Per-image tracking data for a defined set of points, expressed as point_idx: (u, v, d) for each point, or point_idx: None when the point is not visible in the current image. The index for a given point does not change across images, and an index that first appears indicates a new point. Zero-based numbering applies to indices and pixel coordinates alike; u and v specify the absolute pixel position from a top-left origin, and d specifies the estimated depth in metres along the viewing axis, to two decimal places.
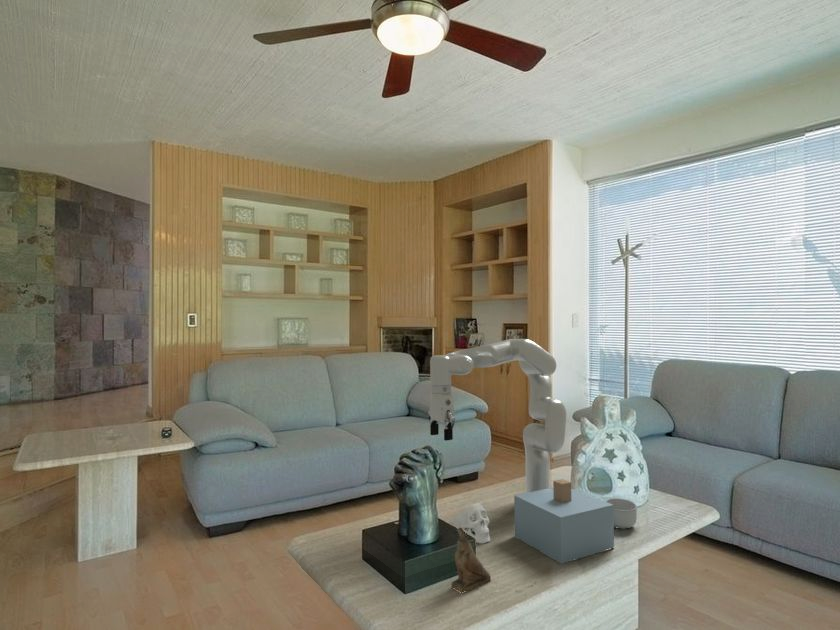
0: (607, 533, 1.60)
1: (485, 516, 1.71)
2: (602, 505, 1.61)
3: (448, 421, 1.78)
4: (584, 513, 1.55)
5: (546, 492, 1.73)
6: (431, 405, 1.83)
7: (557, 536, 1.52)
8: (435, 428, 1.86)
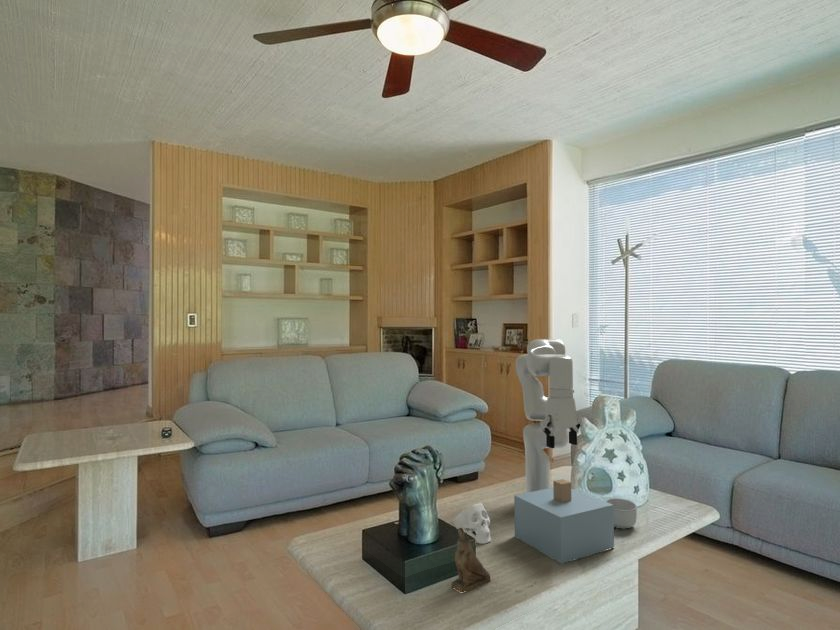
0: (607, 533, 1.60)
1: (486, 516, 1.71)
2: (602, 505, 1.61)
3: None
4: (584, 513, 1.55)
5: (546, 492, 1.73)
6: (559, 413, 1.63)
7: (557, 536, 1.52)
8: None
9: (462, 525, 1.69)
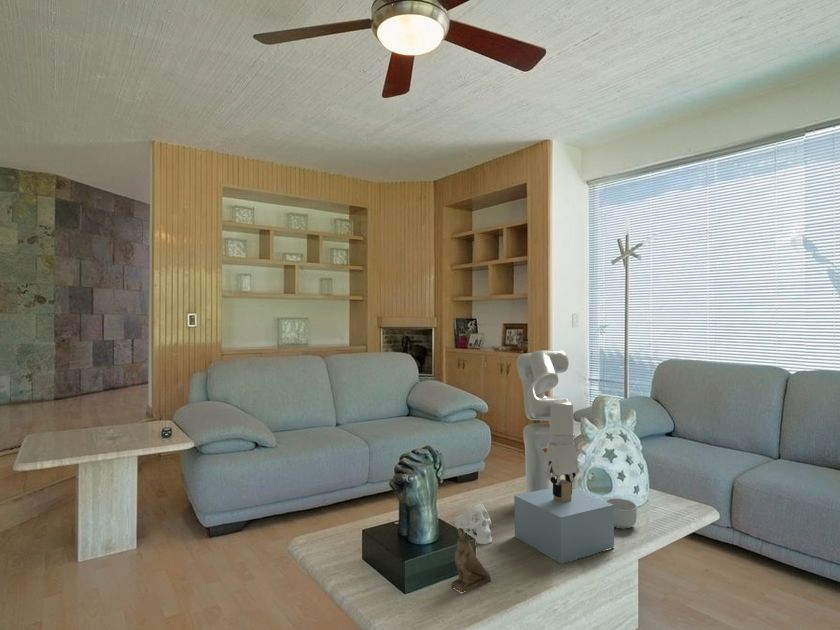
0: (607, 533, 1.60)
1: (487, 517, 1.70)
2: (602, 505, 1.61)
3: None
4: (584, 513, 1.55)
5: (546, 492, 1.73)
6: (560, 459, 1.63)
7: (557, 536, 1.52)
8: None
9: (463, 526, 1.68)
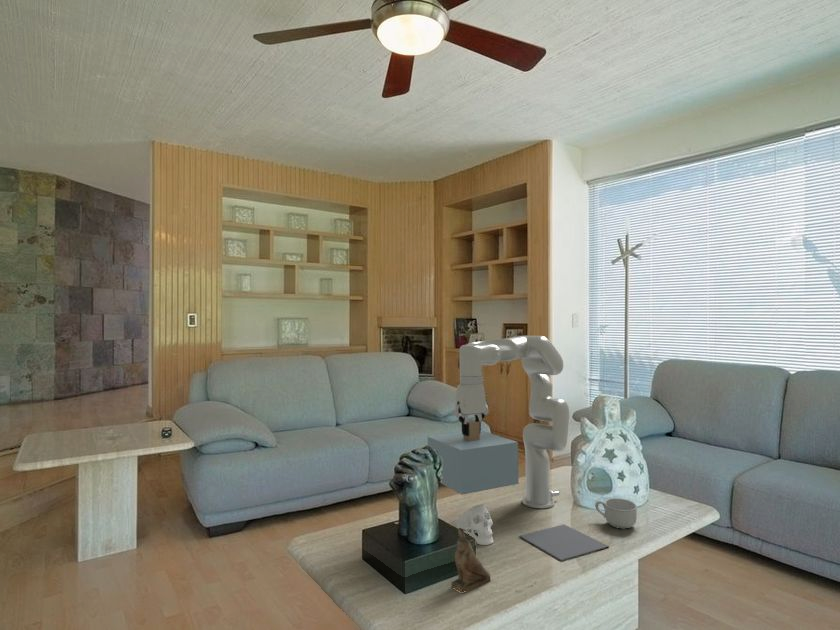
0: (511, 469, 1.66)
1: (488, 518, 1.70)
2: (507, 442, 1.67)
3: None
4: (486, 448, 1.62)
5: (459, 434, 1.80)
6: (467, 399, 1.69)
7: (458, 469, 1.59)
8: None
9: (464, 526, 1.68)
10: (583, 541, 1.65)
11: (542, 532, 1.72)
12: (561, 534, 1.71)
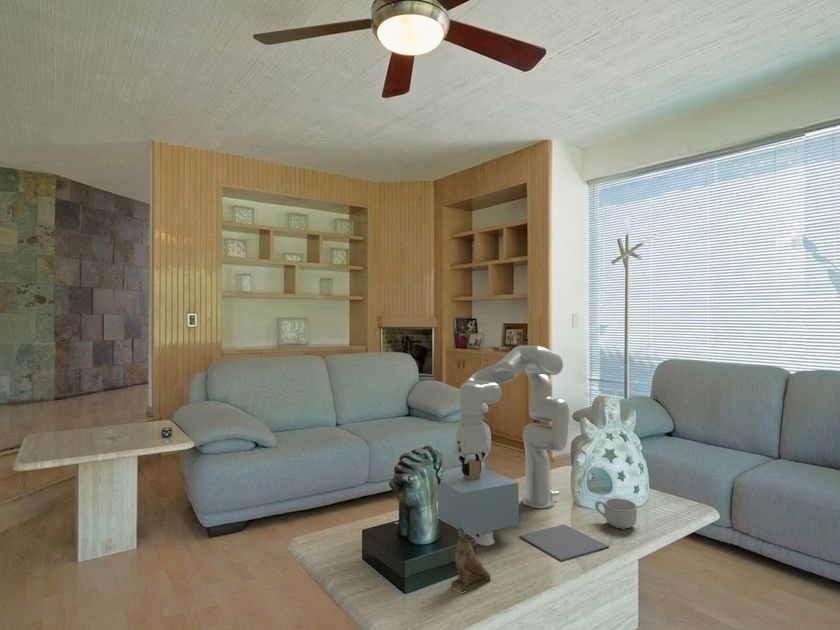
0: (511, 509, 1.66)
1: None
2: (507, 483, 1.67)
3: None
4: (487, 489, 1.62)
5: (460, 472, 1.80)
6: (467, 439, 1.69)
7: (459, 511, 1.58)
8: None
9: None
10: (583, 541, 1.65)
11: (542, 532, 1.72)
12: (561, 534, 1.71)
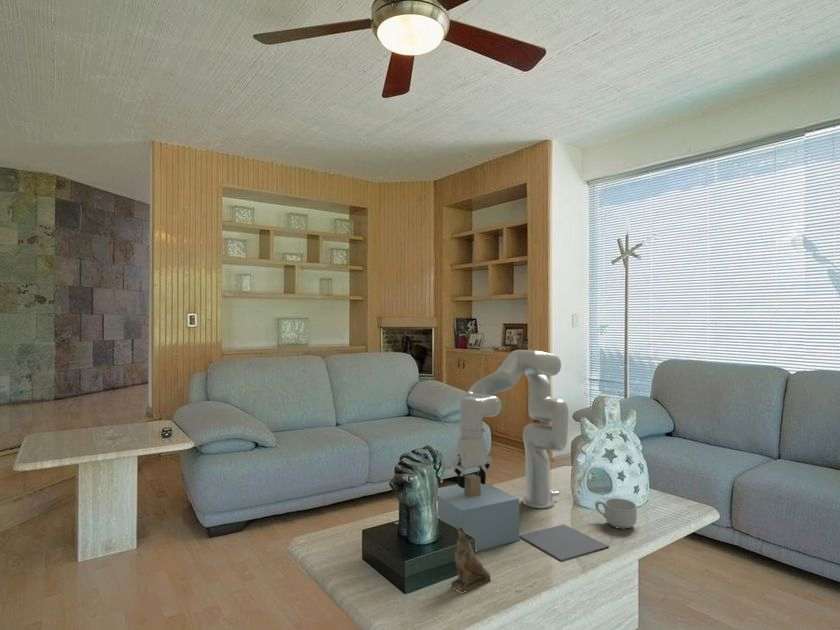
0: (512, 526, 1.66)
1: None
2: (508, 499, 1.67)
3: None
4: (487, 506, 1.62)
5: (460, 487, 1.80)
6: (468, 453, 1.69)
7: None
8: None
9: None
10: (583, 541, 1.65)
11: (542, 532, 1.72)
12: (561, 534, 1.71)
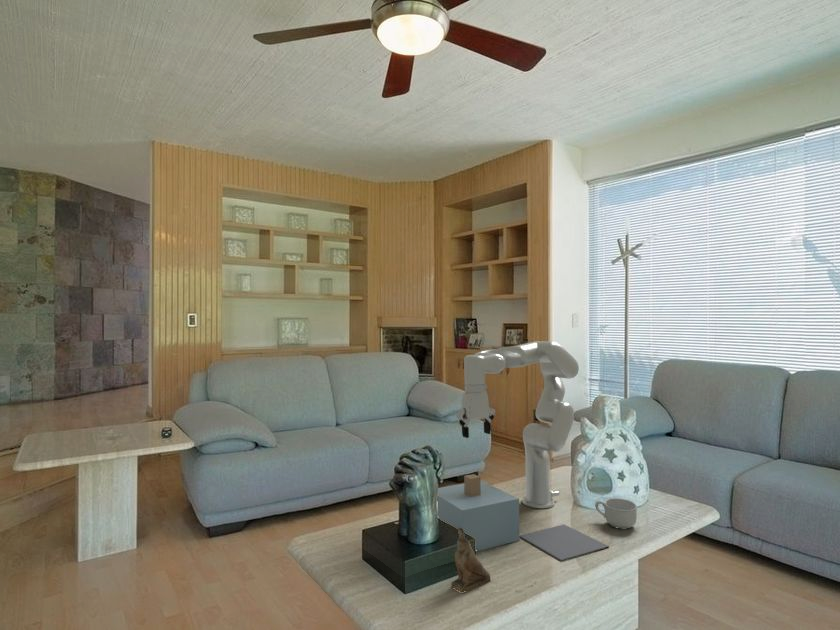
0: (512, 526, 1.66)
1: None
2: (508, 499, 1.67)
3: None
4: (487, 506, 1.62)
5: (460, 487, 1.80)
6: (472, 406, 1.82)
7: None
8: None
9: None
10: (583, 541, 1.65)
11: (542, 532, 1.72)
12: (561, 534, 1.71)
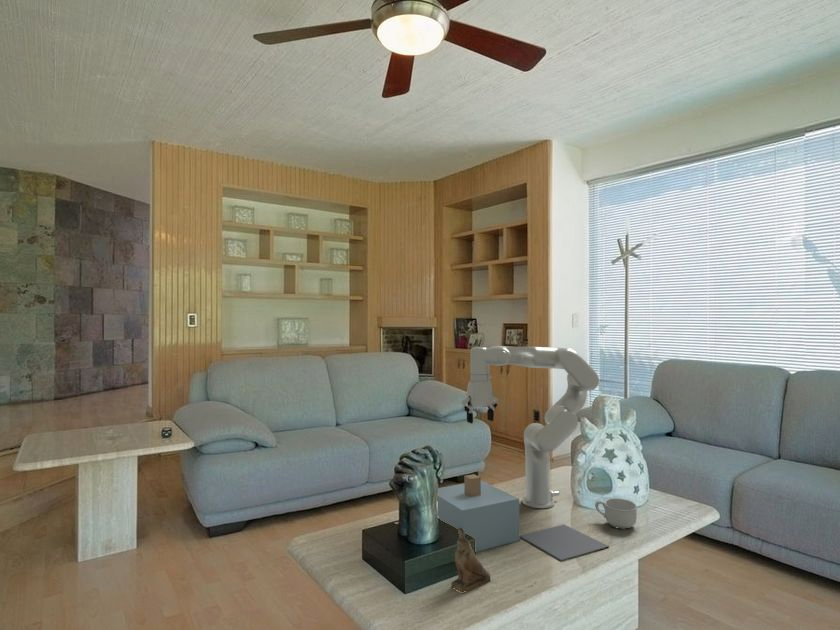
0: (512, 526, 1.66)
1: None
2: (508, 499, 1.67)
3: None
4: (487, 506, 1.62)
5: (460, 487, 1.80)
6: (477, 394, 1.96)
7: None
8: None
9: None
10: (583, 541, 1.65)
11: (542, 532, 1.72)
12: (561, 534, 1.71)
